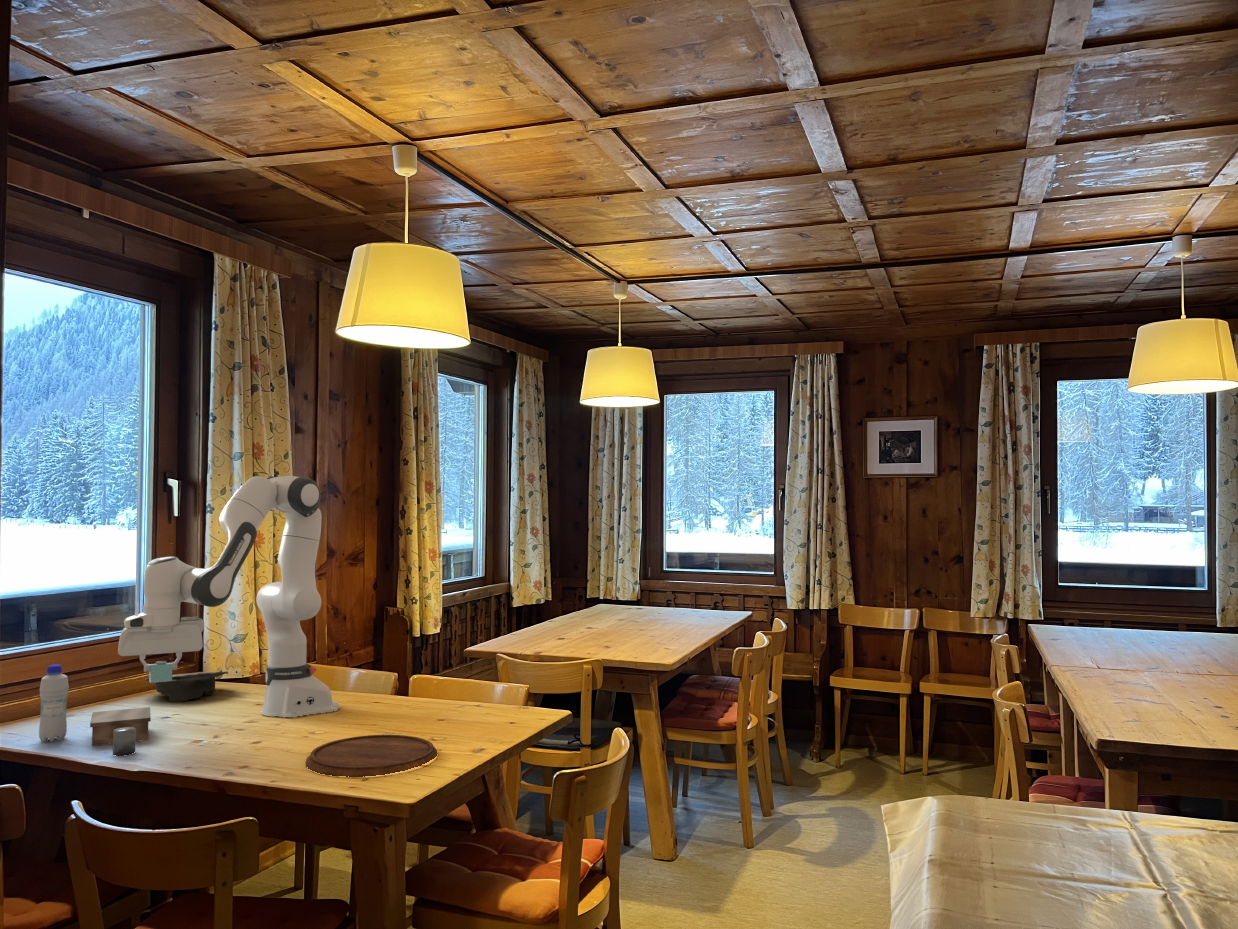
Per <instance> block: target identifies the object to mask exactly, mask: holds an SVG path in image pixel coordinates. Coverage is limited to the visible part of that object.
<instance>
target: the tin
mask: <svg viewBox="0 0 1238 929" xmlns="http://www.w3.org/2000/svg"><path fill="white" fill-rule="evenodd" d="M136 742H137V741H136V728H134V727H124V728H118V729H115V730H114V731H113V744H112V756H113V755H116V756H115V757H125V756H124V755H127V756H130V755H129V754H132V753H134V752H135V753H136ZM135 753H134V754H135ZM132 755H133V754H132Z"/></svg>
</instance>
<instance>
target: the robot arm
mask: <svg viewBox="0 0 1238 929" xmlns="http://www.w3.org/2000/svg"><path fill="white" fill-rule="evenodd" d="M320 501H321V489H320V486H319V484H318V483H317V482H316V481H315V480H313V479H311V478H309V477H306V476H296V475H295V476H294V475H285V476H283V475H282V476H268V477H264V476H261V475H260V476H259V475H256V476H252V477H250V478H249V479H247V480H246V481H245V482H244V483H243V484H242V485H241V486H240V487H239V488H238V489H237V490H236V491H235V492H234V494H233V495H232V496H231V497H230V499H229V500H228V501H227V502H226V504H225V505H224V507H223V508H222V511H221V512H220V515H219V518H218V519H219V524H220V527H221V529H222V531H223V532H224V533H225V534H226V535H227V536H228V541H227V543H226V545H225V546H224V548H223V550H222V552H221V554H220V555H219V557H218V559H217V560H216V563H215V564H214V565H212V566H210V567H208V568H203V567H202V568H201V567H196V566H194V565H190V564H187V563H185V562H183V561H182V560H180V559H179V557H178V556H164V557H158V558H154V559H151V560H150V561H149V562H148V563H147V565H146V567H145V570H144V578H143V594H144V602H143V606H142V608H143V609H142V612H140V613H137V614H133V615H131V616H127V617H126V618H125V619H124V621H123V626H124V628H123V629H122V630H121V633H120V635H119V640H118V646H117V655H119V656H120V657H131V656H139V661H140V663H141V664H142V666H143V672H144V673H149V672H150V663H147V662H146V660H145V659H146V656H148V655H161V654H173V653H175V657H176V659H175V660H174V661H173V662H170V663H172V671H173V670H178V664H179V662H180V660H181V659H182V656H183V653H187V652H188V653H190V652H200V651H201V650H202V649H203V647H204V645H203V642H204V641H203V635H202V633H203V631H204V629H205V621H204V620H203V618H201V617H199V616H181V604H182V602H184V603H190V604H196V605H201V606H204V607H209V608H216V607H219V606H220V605H223V604H224V603H225V602H226V601H227V600H228V599H229V598H230V596H231V595H232V591H233V588H234V584H235V580H236V578H237V575H238V574H239V571H240V570H241V568H242V566H243V564H244V562H245V561H246V558H247V557H248V556H249V553H250V551H252V550H251V549H252V548H253V546H254V543H255V541H256V539H257V534H258V530H259V528H260V527H261V525H262V524H263V522H264V521H265V519H266V517H267V516H268V514H269V512H278V513H283V514H284V516H285V517H284V518H285V524H284V528H283V531H282V536H281V542H280V546H279V551H278V556H277V563H278V565H279V567H280V571H281V573H280V574H281V581H275V582H270V583H266V584H264V585H263V586H262V587H261V588H260V589H259V590H258V592H257V595H256V599H255V601H256V605H257V607H258V609H259V611H260V612H261V614H262V618H263V622H264V626H265V629H266V630H265V631H266V636H267V665H266V667H265V685H266V688H265V696H264V700H263V706H262V709H261V711H260V713H261V715H263V716H266V717H267V716H268V717H275V716H280V717H279V718H285V717H293V718H298V717H297V716H300V717H304V716H303V715H307V716H310V715H309V714H314V715H317V714H316V713H321V714H327V713H334V712H337V711H339V710H340V704H339V703H338V701H335V700H333V697H332V691H331V689H330V687H329V686H328V685H327V684H325V683H324V682H323V681H321V680H320V679H318V678H317V677H315V676H314V675H313V674H315V673H316V672H317V671H318V669H317V667H316V666H315V665H311V664H309V663H307V642H308V639H307V636H306V634H305V633H304V631H303V629H302V626H301V622H300V621H306V620H310V619H312V618H314V617H315V616H316V615H317V614H318V613H319V611H320V610H321V606H322V597H321V595H320V593H319V591H318V589H317V581H316V562H317V561H316V560H317V556H318V550H319V544H320V540H321V533H322V516H323V515H322V511H321V510H320V508H319V506H320V503H321V502H320ZM338 709H339V710H338ZM333 711H334V712H333ZM326 712H327V713H326ZM281 716H282V717H281Z"/></svg>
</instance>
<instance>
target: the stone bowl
mask: <svg viewBox="0 0 1238 929" xmlns="http://www.w3.org/2000/svg"><path fill="white" fill-rule="evenodd" d="M228 673H229V671H205V672H203V671H199V672H192V673H177V674H172V681H167V682H156V683H155V690H156V692H157V693H160V694H161V695H163V696H168V700H169V701H170V702H171V703H179V702H180V703H183V702H185V701H189V700H192V699H199V698H201V697H203V696H207V697H209V696H212V695H214V694H215V691H216V678H217V677H220V676H222V675H225V674H228ZM144 681H145V682H149V677H147V678H145V679H144ZM177 701H179V702H177ZM182 701H183V702H182Z"/></svg>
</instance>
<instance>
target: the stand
mask: <svg viewBox="0 0 1238 929" xmlns="http://www.w3.org/2000/svg"><path fill="white" fill-rule="evenodd" d="M151 715H152V714H151V707H150V706H145V707H134V708H125V709H124V708H122V709H113V710H103V711H92V713H91V718H90V723H89V728H91V729H92V731H91V736H92V737H91V746H92V747H95V745H97V746H104V745H103V744H106V745H113V731H114V730H115V729H118V728H124V727H134V728H136V741H135V742H140V740H144V741H149V722H151V719H152V718H151V717H152V716H151Z"/></svg>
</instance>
